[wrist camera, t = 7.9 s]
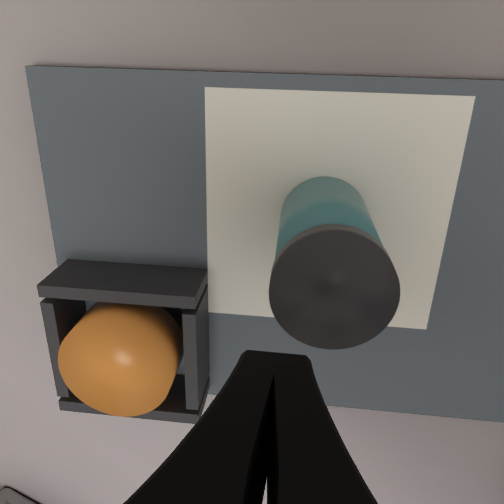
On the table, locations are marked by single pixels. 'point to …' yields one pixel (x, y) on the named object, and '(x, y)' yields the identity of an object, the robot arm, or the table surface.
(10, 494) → the coffee box
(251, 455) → the robot arm
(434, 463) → the table surface
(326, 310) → the teal bottle
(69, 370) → the button
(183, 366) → the slate board
